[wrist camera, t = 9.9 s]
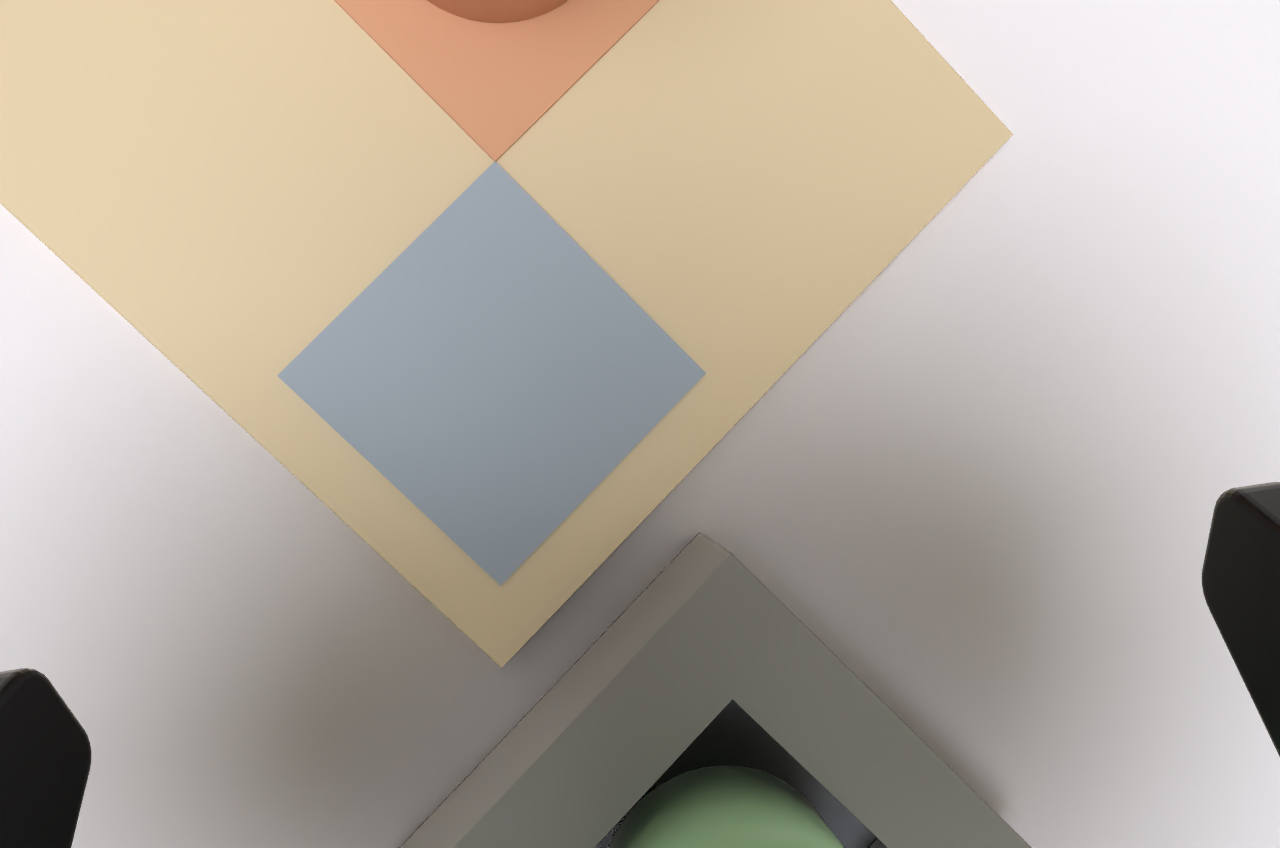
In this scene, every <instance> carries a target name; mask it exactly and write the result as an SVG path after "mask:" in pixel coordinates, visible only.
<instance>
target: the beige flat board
mask: <svg viewBox="0 0 1280 848" xmlns="http://www.w3.org/2000/svg"><path fill="white" fill-rule="evenodd" d="M1012 135H1013V134H1012V133H1011V132H1010V131H1009V130H1008V129H1007V127H1006V126H1005V125H1004V124H1003V123H1002V122H1001V121H1000V120H999V119H998V118H997V116H996V115H995V114H994V113H993V112H992V111H991V110H990V109H989V108H988V107H987V105H986V104H985V103H984V102H983V101H982V100H981V99H980V98H979V97H978V96H977V94H976V93H975V92H974V91H973V90H972V89H971V88H970V87H969V86H968V85H967V83H966V82H965V81H964V80H963V79H962V78H961V77H960V76H959V75H958V74H957V73H956V71H955V70H954V69H953V68H952V67H951V66H950V65H949V64H948V63H947V62H946V60H945V59H944V58H943V57H942V56H941V55H940V54H939V53H938V52H937V51H936V49H935V48H934V47H933V46H932V45H931V44H930V43H929V42H928V41H927V40H926V38H925V37H924V36H923V35H922V34H921V33H920V32H919V31H918V30H917V29H916V27H915V26H914V25H913V24H912V23H911V22H910V21H909V20H908V19H907V18H906V17H905V15H904V14H903V13H902V12H901V11H900V10H899V9H898V8H897V7H896V6H895V4H894V3H893V2H892V1H891V0H568V1H566V2H565V3H563V4H562V5H561V6H559V7H557V8H555V9H553V10H551V11H549V12H548V13H545V14H542V15H540V16H537V17H534V18H531V19H527V20H522V21H518V22H507V23H492V22H481V21H476V20H470V19H466V18H463V17H460V16H457V15H454V14H451V13H449V12H447V11H445V10H443V9H440V8H438V7H437V6H435V5H433V4H432V3H430V2H429V1H427V0H0V204H2V205H3V206H4V207H5V208H6V209H7V210H8V211H9V212H10V213H11V214H12V215H13V216H14V217H16V218H17V219H18V220H19V221H20V222H21V223H22V224H23V225H24V226H25V227H26V228H27V229H28V230H30V231H31V232H32V233H33V234H34V235H35V236H36V237H37V238H38V239H39V240H40V241H41V242H42V243H44V244H45V245H46V246H47V247H48V248H49V249H50V250H51V251H52V252H53V253H54V254H55V255H57V256H58V257H59V258H60V259H61V260H62V261H63V262H64V263H65V264H66V265H67V266H68V267H69V268H71V269H72V270H73V271H74V272H75V273H76V274H77V275H78V276H79V277H80V278H81V279H82V280H83V281H85V282H86V283H87V284H88V285H89V286H90V287H91V288H92V289H93V290H94V291H95V292H96V293H97V294H99V295H100V296H101V297H102V298H103V299H104V300H105V301H106V302H107V303H108V304H109V305H110V306H112V307H113V308H114V309H115V310H116V311H117V312H118V313H119V314H120V315H121V316H122V317H123V318H124V319H126V320H127V321H128V322H129V323H130V324H131V325H132V326H133V327H134V328H135V329H136V330H137V331H138V332H140V333H141V334H142V335H143V336H144V337H145V338H146V339H147V340H148V341H149V342H150V343H151V344H152V345H154V346H155V347H156V348H157V349H158V350H159V351H160V352H161V353H162V354H163V355H164V356H165V357H167V358H168V359H169V360H170V361H171V362H172V363H173V364H174V365H175V366H176V367H177V368H178V369H179V370H181V371H182V372H183V373H184V374H185V375H186V376H187V377H188V378H189V379H190V380H191V381H192V382H193V383H195V384H196V385H197V386H198V387H199V388H200V389H201V390H202V391H203V392H204V393H205V394H206V395H207V396H209V397H210V398H211V399H212V400H213V401H214V402H215V403H216V404H217V405H218V406H219V407H220V408H222V409H223V410H224V411H225V412H226V413H227V414H228V415H229V416H230V417H231V418H232V419H233V420H234V421H236V422H237V423H238V424H239V425H240V426H241V427H242V428H243V429H244V430H245V431H246V432H247V433H248V434H250V435H251V436H252V437H253V438H254V439H255V440H256V441H257V442H258V443H259V444H260V445H261V446H262V447H264V448H265V449H266V450H267V451H268V452H269V453H270V454H271V455H272V456H273V457H274V458H275V459H277V460H278V461H279V462H280V463H281V464H282V465H283V466H284V467H285V468H286V469H287V470H288V471H289V472H291V473H292V474H293V475H294V476H295V477H296V478H297V479H298V480H299V481H300V482H301V483H302V484H303V485H305V486H306V487H307V488H308V489H309V490H310V491H311V492H312V493H313V494H314V495H315V496H316V497H317V498H319V499H320V500H321V501H322V502H323V503H324V504H325V505H326V506H327V507H328V508H329V509H330V510H332V511H333V512H334V513H335V514H336V515H337V516H338V517H339V518H340V519H341V520H342V521H343V522H344V523H346V524H347V525H348V526H349V527H350V528H351V529H352V530H353V531H354V532H355V533H356V534H357V535H358V536H360V537H361V538H362V539H363V540H364V541H365V542H366V543H367V544H368V545H369V546H370V547H371V548H372V549H374V550H375V551H376V552H377V553H378V554H379V555H380V556H381V557H382V558H383V559H384V560H385V561H387V562H388V563H389V564H390V565H391V566H392V567H393V568H394V569H395V570H396V571H397V572H398V573H399V574H401V575H402V576H403V577H404V578H405V579H406V580H407V581H408V582H409V583H410V584H411V585H412V586H413V587H415V588H416V589H417V590H418V591H419V592H420V593H421V594H422V595H423V596H424V597H425V598H426V599H427V600H429V601H430V602H431V603H432V604H433V605H434V606H435V607H436V608H437V609H438V610H439V611H440V612H442V613H443V614H444V615H445V616H446V617H447V618H448V619H449V620H450V621H451V622H452V623H453V624H454V625H456V626H457V627H458V628H459V629H460V630H461V631H462V632H463V633H464V634H465V635H466V636H467V637H468V638H470V639H471V640H472V641H473V642H474V643H475V644H476V645H477V646H478V647H479V648H480V649H481V650H482V651H484V652H485V653H486V654H487V655H488V656H489V657H490V658H491V659H492V660H493V661H494V662H495V663H497V664H498V665H499V666H500V667H501V668H502V667H503V666H504V665H505V664H506V663H507V662H508V661H509V660H510V659H511V658H512V657H513V656H514V655H515V654H516V653H517V652H518V651H519V650H520V649H521V648H522V647H523V646H524V644H525V643H526V642H527V641H528V640H529V639H530V638H531V637H532V636H533V635H534V634H535V633H536V632H537V631H538V630H539V629H540V628H541V627H542V626H543V625H544V624H545V623H546V622H547V620H548V619H549V618H550V617H551V616H552V615H553V614H554V613H555V612H556V611H557V610H558V609H559V608H560V607H561V606H562V605H563V604H564V603H565V602H566V601H567V600H568V599H569V598H570V596H571V595H572V594H573V593H574V592H575V591H576V590H577V589H578V588H579V587H580V586H581V585H582V584H583V583H584V582H585V581H586V580H587V579H588V578H589V577H590V576H591V575H592V574H593V572H594V571H595V570H596V569H597V568H598V567H599V566H600V565H601V564H602V563H603V562H604V561H605V560H606V559H607V558H608V557H609V556H610V555H611V554H612V553H613V552H614V551H615V549H616V548H617V547H618V546H619V545H620V544H621V543H622V542H623V541H624V540H625V539H626V538H627V537H628V536H629V535H630V534H631V533H632V532H633V531H634V530H635V529H636V528H637V527H638V525H639V524H640V523H641V522H642V521H643V520H644V519H645V518H646V517H647V516H648V515H649V514H650V513H651V512H652V511H653V510H654V509H655V508H656V507H657V506H658V505H659V504H660V503H661V501H662V500H663V499H664V498H665V497H666V496H667V495H668V494H669V493H670V492H671V491H672V490H673V489H674V488H675V487H676V486H677V485H678V484H679V483H680V482H681V481H682V480H683V479H684V477H685V476H686V475H687V474H688V473H689V472H690V471H691V470H692V469H693V468H694V467H695V466H696V465H697V464H698V463H699V462H700V461H701V460H702V459H703V458H704V457H705V456H706V454H707V453H708V452H709V451H710V450H711V449H712V448H713V447H714V446H715V445H716V444H717V443H718V442H719V441H720V440H721V439H722V438H723V437H724V436H725V435H726V434H727V433H728V432H729V430H730V429H731V428H732V427H733V426H734V425H735V424H736V423H737V422H738V421H739V420H740V419H741V418H742V417H743V416H744V415H745V414H746V413H747V412H748V411H749V410H750V409H751V408H752V406H753V405H754V404H755V403H756V402H757V401H758V400H759V399H760V398H761V397H762V396H763V395H764V394H765V393H766V392H767V391H768V390H769V389H770V388H771V387H772V386H773V385H774V384H775V382H776V381H777V380H778V379H779V378H780V377H781V376H782V375H783V374H784V373H785V372H786V371H787V370H788V369H789V368H790V367H791V366H792V365H793V364H794V363H795V362H796V361H797V360H798V358H799V357H800V356H801V355H802V354H803V353H804V352H805V351H806V350H807V349H808V348H809V347H810V346H811V345H812V344H813V343H814V342H815V341H816V340H817V339H818V338H819V337H820V335H821V334H822V333H823V332H824V331H825V330H826V329H827V328H828V327H829V326H830V325H831V324H832V323H833V322H834V321H835V320H836V319H837V318H838V317H839V316H840V315H841V314H842V313H843V311H844V310H845V309H846V308H847V307H848V306H849V305H850V304H851V303H852V302H853V301H854V300H855V299H856V298H857V297H858V296H859V295H860V294H861V293H862V292H863V291H864V290H865V289H866V287H867V286H868V285H869V284H870V283H871V282H872V281H873V280H874V279H875V278H876V277H877V276H878V275H879V274H880V273H881V272H882V271H883V270H884V269H885V268H886V267H887V266H888V265H889V263H890V262H891V261H892V260H893V259H894V258H895V257H896V256H897V255H898V254H899V253H900V252H901V251H902V250H903V249H904V248H905V247H906V246H907V245H908V244H909V243H910V242H911V240H912V239H913V238H914V237H915V236H916V235H917V234H918V233H919V232H920V231H921V230H922V229H923V228H924V227H925V226H926V225H927V224H928V223H929V222H930V221H931V220H932V219H933V218H934V216H935V215H936V214H937V213H938V212H939V211H940V210H941V209H942V208H943V207H944V206H945V205H946V204H947V203H948V202H949V201H950V200H951V199H952V198H953V197H954V196H955V195H956V194H957V192H958V191H959V190H960V189H961V188H962V187H963V186H964V185H965V184H966V183H967V182H968V181H969V180H970V179H971V178H972V177H973V176H974V175H975V174H976V173H977V172H978V171H979V170H980V168H981V167H982V166H983V165H984V164H985V163H986V162H987V161H988V160H989V159H990V158H991V157H992V156H993V155H994V154H995V153H996V152H997V151H998V150H999V149H1000V148H1001V147H1002V145H1003V144H1004V143H1005V142H1006V141H1007V140H1008V139H1009V138H1010V137H1011V136H1012Z"/></svg>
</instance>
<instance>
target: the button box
mask: <svg viewBox="0 0 1280 848" xmlns="http://www.w3.org/2000/svg"><path fill="white" fill-rule="evenodd" d="M732 699H733V700H734V701H735V702H736V703H737V704H738V705H739V706H740V707H741V708H742V709H743V710H744V711H745V712H746V713H747V714H748V715H750V716H751V717H752V718H753V719H754V720H755V721H756V722H757V723H758V724H759V725H760V726H761V727H762V728H763V729H764V730H765V731H766V732H767V733H768V734H769V735H770V736H771V737H773V738H774V739H775V740H776V741H777V742H778V743H779V744H780V745H781V746H782V747H783V748H784V749H785V750H786V751H787V752H788V753H789V754H790V755H791V756H792V757H793V758H794V759H795V760H797V761H798V762H799V763H800V764H801V765H802V766H803V767H804V768H805V769H806V770H807V771H808V772H809V773H810V774H811V775H812V776H813V777H814V778H815V779H816V780H817V781H818V782H820V783H821V784H822V785H823V786H824V787H825V788H826V789H827V790H828V791H829V792H830V793H831V794H832V795H833V796H834V797H835V798H836V799H837V800H838V801H839V802H840V803H841V804H843V805H844V806H845V807H846V808H847V809H848V810H849V811H850V812H851V813H852V814H853V815H854V816H855V817H856V818H857V819H858V820H859V821H860V822H861V823H862V824H863V825H864V826H866V827H867V828H868V829H869V830H870V831H871V832H872V833H873V834H874V835H875V836H876V837H877V839H876V840H875V841H874V843H873V844H872V845H871V846H870V847H869V848H1031V847H1030V846H1029V845H1028V844H1027V843H1026V842H1025V841H1024V840H1023V839H1022V838H1021V837H1020V836H1019V835H1018V834H1017V833H1016V832H1015V831H1014V830H1013V829H1012V828H1011V827H1010V826H1009V825H1008V824H1007V823H1006V822H1005V821H1004V820H1003V819H1002V818H1001V817H1000V816H999V815H998V814H997V813H996V812H995V811H994V810H993V809H992V808H991V807H990V806H989V805H988V804H987V803H985V802H984V801H983V800H982V799H981V798H980V797H979V796H978V795H977V794H976V793H975V792H974V791H973V790H972V789H971V788H970V787H969V786H968V785H967V784H966V783H965V782H964V781H963V780H962V779H961V778H960V777H959V776H958V775H957V774H956V773H955V772H954V771H953V770H952V769H951V768H950V767H949V766H948V765H947V764H946V763H945V762H944V761H943V760H942V759H941V758H940V757H939V756H938V755H937V754H936V753H934V752H933V751H932V750H931V749H930V748H929V747H928V746H927V745H926V744H925V743H924V742H923V741H922V740H921V739H920V738H919V737H918V736H917V735H916V734H915V733H914V732H913V731H912V730H911V729H910V728H909V727H908V726H907V725H906V724H905V723H904V722H903V721H902V720H901V719H900V718H899V717H898V716H897V715H896V714H895V713H894V712H893V711H892V710H891V709H890V708H889V707H888V706H887V705H886V704H884V703H883V702H882V701H881V700H880V699H879V698H878V697H877V696H876V695H875V694H874V693H873V692H872V691H871V690H870V689H869V688H868V687H867V686H866V685H865V684H864V683H863V682H862V681H861V680H860V679H859V678H858V677H857V676H856V675H855V674H854V673H853V672H852V671H851V670H850V669H849V668H848V667H847V666H846V665H845V664H844V663H843V662H842V661H841V660H840V659H839V658H838V657H837V656H836V655H835V654H833V653H832V652H831V651H830V650H829V649H828V648H827V647H826V646H825V645H824V644H823V643H822V642H821V641H820V640H819V639H818V638H817V637H816V636H815V635H814V634H813V633H812V632H811V631H810V630H809V629H808V628H807V627H806V626H805V625H804V624H803V623H802V622H801V621H800V620H799V619H798V618H797V617H796V616H795V615H794V614H793V613H792V612H791V611H790V610H789V609H788V608H787V607H786V606H785V605H784V604H782V603H781V602H780V601H779V600H778V599H777V598H776V597H775V596H774V595H773V594H772V593H771V592H770V591H769V590H768V589H767V588H766V587H765V586H764V585H763V584H762V583H761V582H760V581H759V580H758V579H757V578H756V577H755V576H754V575H753V574H752V573H751V572H750V571H749V570H748V569H747V568H746V567H745V566H744V565H743V564H742V563H741V562H740V561H739V560H738V559H737V558H736V557H735V556H734V555H732V554H731V553H730V552H728V551H727V550H725V549H724V548H722V547H721V546H719V545H718V544H716V543H715V542H713V541H712V540H710V539H709V538H707V537H706V536H704V535H703V534H701V533H699V534H698V535H697V536H696V537H695V538H694V539H693V540H692V541H691V542H690V543H689V544H688V545H687V546H686V547H685V548H684V549H683V551H682V552H681V553H680V554H679V555H678V556H677V557H676V558H675V559H674V560H673V561H672V562H671V563H670V564H669V565H668V566H667V567H666V568H665V569H664V570H663V572H662V573H661V574H660V575H659V576H658V577H657V578H656V579H655V580H654V581H653V582H652V583H651V584H650V585H649V586H648V587H647V588H646V589H645V590H644V592H643V593H642V594H641V595H640V596H639V597H638V598H637V599H636V600H635V601H634V602H633V603H632V604H631V605H630V606H629V607H628V608H627V609H626V610H625V612H624V613H623V614H622V615H621V616H620V617H619V618H618V619H617V620H616V621H615V622H614V623H613V624H612V625H611V626H610V627H609V628H608V629H607V630H606V632H605V633H604V634H603V635H602V636H601V637H600V638H599V639H598V640H597V641H596V642H595V643H594V644H593V645H592V646H591V647H590V648H589V649H588V650H587V652H586V653H585V654H584V655H583V656H582V657H581V658H580V659H579V660H578V661H577V662H576V663H575V664H574V665H573V666H572V667H571V668H570V669H569V670H568V672H567V673H566V674H565V675H564V676H563V677H562V678H561V679H560V680H559V681H558V682H557V683H556V684H555V685H554V686H553V687H552V688H551V689H550V690H549V691H548V693H547V694H546V695H545V696H544V697H543V698H542V699H541V700H540V701H539V702H538V703H537V704H536V705H535V706H534V707H533V708H532V709H531V710H530V711H529V713H528V714H527V715H526V716H525V717H524V718H523V719H522V720H521V721H520V722H519V723H518V724H517V725H516V726H515V727H514V728H513V729H512V730H511V731H510V733H509V734H508V735H507V736H506V737H505V738H504V739H503V740H502V741H501V742H500V743H499V744H498V745H497V746H496V747H495V748H494V749H493V750H492V751H491V753H490V754H489V755H488V756H487V757H486V758H485V759H484V760H483V761H482V762H481V763H480V764H479V765H478V766H477V767H476V768H475V769H474V770H473V771H472V773H471V774H470V775H469V776H468V777H467V778H466V779H465V780H464V781H463V782H462V783H461V784H460V785H459V786H458V787H457V788H456V789H455V790H454V791H453V793H452V794H451V795H450V796H449V797H448V798H447V799H446V800H445V801H444V802H443V803H442V804H441V805H440V806H439V807H438V808H437V809H436V810H435V811H434V813H433V814H432V815H431V816H430V817H429V818H428V819H427V820H426V821H425V822H424V823H423V824H422V825H421V826H420V827H419V828H418V829H417V830H416V831H415V832H414V834H413V835H412V836H411V837H410V838H409V839H408V840H407V841H406V842H405V843H404V844H403V845H402V846H401V847H400V848H595V847H596V846H597V844H598V843H599V842H600V841H601V840H602V839H603V838H604V837H605V836H606V835H607V834H608V833H609V832H610V830H611V829H612V828H613V827H614V826H615V825H616V824H617V823H618V822H619V821H620V820H621V819H622V818H623V816H624V815H625V814H626V813H627V812H628V811H629V810H630V809H631V808H632V807H633V806H634V805H635V804H636V802H637V801H638V800H639V799H640V798H641V797H642V796H643V795H644V794H645V793H646V792H647V791H648V790H649V789H650V787H651V786H652V785H653V784H654V783H655V782H656V781H657V780H658V779H659V778H660V777H661V776H662V775H663V773H664V772H665V771H666V770H667V769H668V768H669V767H670V766H671V765H672V764H673V763H674V762H675V761H676V759H677V758H678V757H679V756H680V755H681V754H682V753H683V752H684V751H685V750H686V749H687V748H688V747H689V745H690V744H691V743H692V742H693V741H694V740H695V739H696V738H697V737H698V736H699V735H700V734H701V733H702V731H703V730H704V729H705V728H706V727H707V726H708V725H709V724H710V723H711V722H712V721H713V720H714V719H715V717H716V716H717V715H718V714H719V713H720V712H721V711H722V710H723V709H724V708H725V707H726V706H727V705H728V704H729V702H730V701H731V700H732Z"/></svg>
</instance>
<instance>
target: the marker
mask: <svg viewBox="0 0 1280 848" xmlns="http://www.w3.org/2000/svg"><path fill="white" fill-rule="evenodd" d="M427 1H429V2H430V3H432V4H433V5H435V6H437V7H438V8H440V9H443V10H445V11H447V12H449V13H451V14H454V15H457V16H460V17H463V18H466V19H470V20H476V21H481V22H492V23H507V22H518V21H522V20H527V19H531V18H534V17H537V16H540V15H542V14H545V13H548V12H549V11H551V10H553V9H555V8H557V7H559V6H561V5H562V4H563V3H565V2H566V1H568V0H427Z"/></svg>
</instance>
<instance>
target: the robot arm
mask: <svg viewBox="0 0 1280 848" xmlns="http://www.w3.org/2000/svg"><path fill="white" fill-rule="evenodd" d="M1202 587H1203V592H1204V596H1205V600H1206V603H1207V605H1208V607H1209V610H1210V612H1211V614H1212V616H1213V618H1214V620H1215V622H1216V624H1217V626H1218V629H1219V631H1220V633H1221V635H1222V637H1223V639H1224V641H1225V643H1226V645H1227V647H1228V649H1229V652H1230V654H1231V656H1232V658H1233V660H1234V662H1235V664H1236V666H1237V668H1238V670H1239V672H1240V675H1241V677H1242V679H1243V681H1244V683H1245V685H1246V687H1247V689H1248V691H1249V693H1250V695H1251V698H1252V700H1253V702H1254V704H1255V706H1256V708H1257V710H1258V712H1259V714H1260V716H1261V718H1262V721H1263V723H1264V725H1265V727H1266V729H1267V731H1268V733H1269V735H1270V737H1271V739H1272V741H1273V744H1274V746H1275V748H1276V750H1277V752H1278V754H1279V756H1280V482H1272V483H1265V484H1259V485H1252V486H1245V487H1238V488H1233V489H1230V490H1227V491H1225V492H1224V493H1223V494H1221V496H1220V497H1219V498H1218V500H1217V502H1216V505H1215V508H1214V513H1213V518H1212V523H1211V528H1210V533H1209V539H1208V544H1207V549H1206V554H1205V559H1204V564H1203V569H1202ZM90 765H91V747H90V742H89V739H88V736H87V734H86V732H85V730H84V729H83V727H82V726H81V725H80V723H79V722H78V720H77V719H76V718H75V716H74V715H73V713H72V712H71V710H70V709H69V708H68V706H67V705H66V703H65V702H64V701H63V699H62V698H61V696H60V695H59V694H58V692H57V691H56V689H55V688H54V687H53V685H52V684H51V682H50V681H49V680H48V678H47V677H46V676H45V675H44V674H42V673H40V672H38V671H36V670H35V669H28V668H25V669H17V670H10V671H3V672H0V848H71V845H72V841H73V837H74V833H75V829H76V825H77V820H78V816H79V812H80V808H81V804H82V800H83V796H84V791H85V787H86V783H87V779H88V775H89V771H90Z"/></svg>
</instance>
